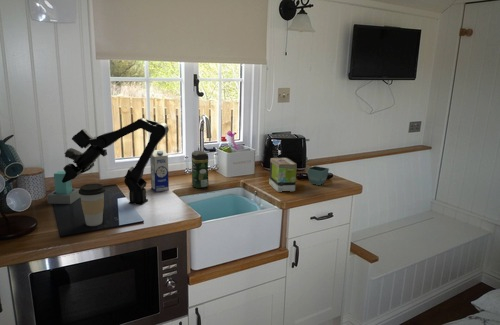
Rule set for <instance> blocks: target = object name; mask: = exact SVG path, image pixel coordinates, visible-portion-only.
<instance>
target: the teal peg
mask: <svg viewBox="0 0 500 325" xmlns="http://www.w3.org/2000/svg"><path fill="white" fill-rule="evenodd" d="M64 175H65V171H64V170H58V171H57V172H54V173H53V180H54V189H55V192H56V194H69V193H71V192H72V188H73V184H72V180H70V181H67V182H65V183H63V182H62V180H63V178H64Z"/></svg>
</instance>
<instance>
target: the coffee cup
mask: <svg viewBox="0 0 500 325" xmlns="http://www.w3.org/2000/svg"><path fill="white" fill-rule="evenodd" d="M79 189H80V190H79V194H80V203H81V208H82V213H83V217H84V221H85V225H86V226H89V227H96V226H100V225H101V224H103V220H104V219H103V218H104V216H103V215H104V209H105V208H104V205H105V204H104V203H105V202H104V201H105V196H104V195H105V194H104V192H106V189H105V187H104V186H103V184H101V183H87V184H83V185H80V188H79Z"/></svg>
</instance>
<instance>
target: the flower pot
mask: <svg viewBox="0 0 500 325" xmlns="http://www.w3.org/2000/svg"><path fill="white" fill-rule="evenodd" d="M329 170H330V168H329V167H328V168H327V167H323V166H317V165H315V166H311V167H309V168H307V177H308V180H309V183H310V184H311V183H312V184H311V185H313V184H317V185H316V186H318V185H320V186H322V185H324V184H325V182H326V181H327V179H328V174H329ZM323 183H324V184H323ZM321 184H322V185H321Z"/></svg>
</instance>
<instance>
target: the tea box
mask: <svg viewBox="0 0 500 325" xmlns="http://www.w3.org/2000/svg"><path fill="white" fill-rule="evenodd" d="M269 159H270V162H269V163H270V164H269V180H268V182H269V185H270V186H271V187H272V188H273V189H274V190H275V191H276V192H277V193H283V192H282V191H290V192H295V191H296V181H297V167H298V166H297V163H296V162H294V161H293V160H292V159H290V158H288V157H271V158H269Z"/></svg>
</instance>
